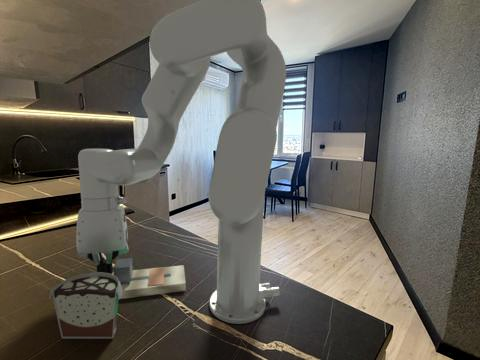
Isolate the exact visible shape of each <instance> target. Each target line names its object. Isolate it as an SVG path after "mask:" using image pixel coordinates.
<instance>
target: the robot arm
mask: <svg viewBox="0 0 480 360" xmlns="http://www.w3.org/2000/svg"><path fill="white" fill-rule="evenodd" d="M266 17H267V16H266V12H265V9H264V6H263V4H262V2H261V0H199V1H196V2H193V3H191V4H189V5H186V6H183V7H181V8H179V9H176V10H174V11H173V12H170V13H169V14H167V15H165V16H164V17H162V18H161V19H160V20H159V21H158V22H157V23H156V24H155V25H154V27H152V30H151V32H150V35H149V48H150V52H151V54H152V57H154V59H155V61H156V62H157V63H159V64H158V66H157V68H156V70H155V71H154V73H153V75H152V77H151V79H150V81H149V82H148V85H147V87H146V89H145V91H144V92H143V94H142V97H141V104H142V106H143V109H144V110H145V112H146V116H147V119H148V120H147V128H146V131H145V134H144V136H143V137H142V140H141V142H140V143H139V145H138V147H137V148H127V149H126V148H125V149H117V150H115V149H109V148H84V149H81V150H80V151H79V152H78V154H77V160H78V173H79V174H78V175H79V187H80V199H81V201H80V203H81V204H80V205H81V208H80V209H79V210H78V215H77V222H76V233H75V234H76V235H75V237H76V238H75V240H76V241H75V242H76V250H77V254H76V255H77V257H78V258H85V259H86V258H88V259H89V260H90V261H92V262H93V264H94V265H95V266H96V272H104V273H110V274H112V272H114V271H113V268H114V267H113V261H114V260H115V259H116V258H117V257H118V256H120V255H124V254H127V253H128V252H129V245H128V240H129V236H128V235H129V234H128V225H127V217H126V212H125V208H124V206H122V205H123V204H126V202H127V199H126V196H125V197H122V196H121V195H120V193H119V192H120V191H119V186H129V185H133V184H136V183H139V182H142V181H145V180H148V179H151V178H153V177H154V176H156V175H157V174H158V173H159V171H160V170H161V169H162V167H163V166H164V164H165V162H166V161H167V158H168V157H169V155H170V154H171V152H172V149H173V148H174V144H175V142H176V139H177V134H178V131H179V126H180V121H181V119H182V117H183V116H184V113H186V110H187V109H188V106H189V104H190V103H191V101H192V99H193V97H194V95H195V94H196V92H197V90H198V89H199V87H200V85H201V84H202V82H203V80H204V78H205V77H206V75H207V73H208V70H209V68H210V65H211V58H212V57H214V56H217V55H220V54H223V53H226V55H228V57H229V58H230V59H231V60H232V61H233V62H234V63H236V64H237V65H238V66H239V67H240V68H241V70H242V75H243V76H242V81H241V84H240V88H239V92H238V93H239V95H238V101H237V106H236V110H235V111H234V112H232V113H231V114H230V115H229V116H228V117H227V118H226V119H225V121H224V122H223V124H222V126H221V129H220V132H219V135H218V140H217V146H216V151H215V155H214V161H213V166H212V171H211V176H210V183H209V189H208V203H209V206H210V210H211V211H212V213H213V214H214V215H215V217H216V218H217V219H218V224H217V226H218V227H217V229H218V230H217V259H216V260H217V262H216V263H217V264H216V267H217V268H216V269H217V270H216V289H215V291H214V292H213V293H211V295H210V298H209V308H210V309H209V310H210V311H211V313H212V314H213V315H214V316H215V317H216V318H218V320H221V321H223V322H225V323H228V324H235V325H236V324H237V325H242V324H248V323H252V322H254V321H256V320H259V318H261V317H262V316H263V314H264V312H265V310H266V304H267V303H266V299H267V298H268V297H277V296H280V295H281V292H280V288H279V286H271V283H270V282H263V283H261V282H260V281H261V259H262V242H263V227H264V226H263V225H264V223H263V222H264V210H265V207H264V206H265V195H266V194H265V193H266V188H267V184H268V180H269V176H270V173H271V168H272V163H273V159H274V154H275V150H276V145H277V139H278V137H277V136H278V133H277V127H278V124H279V123H278V122H279V117H280V114H281V113H280V112H281V108H282V103H283V97H284V94H285V93H284V92H285V88H286V79H287V68H286V61H285V59H284V56H283V54H282V51H281V49H280V48H279V47H278V45H277V44H276V43H275V42H274V40H273V39H272V38H271V37H270V36H269V35H268V30H267V29H268V28H267V18H266ZM103 253H106V257H105V258H104V256H103Z"/></svg>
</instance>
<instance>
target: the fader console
mask: <svg viewBox="0 0 480 360" xmlns="http://www.w3.org/2000/svg"><path fill="white" fill-rule="evenodd" d="M185 273H186V272H185V265H173V266H172V265H171V266H162V267H154V268H153V267H151V268H143V269H133V274H132V278H131V282H130V283H121V287H122V296H121V298H120V299H119V298H118V300H122V299H129V298H138V297H146V296H155V295H162V294H170V293H176V292H179V293H180V292H186V291H187V283H186V274H185ZM112 274H113V275H114V271H113V272H112Z"/></svg>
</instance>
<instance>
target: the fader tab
mask: <svg viewBox="0 0 480 360" xmlns="http://www.w3.org/2000/svg"><path fill="white" fill-rule="evenodd" d="M115 261H116V262H115V264H114V266H113V267H112V268H113V272H114V275H115V276H116V277H117V278H118V280H119V281H120V284H121V283H130V282H131V278H132V274H133V270H134V269H133V267H134V266H133V257H131V258H118V259H116V260H115Z"/></svg>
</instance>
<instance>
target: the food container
mask: <svg viewBox="0 0 480 360" xmlns="http://www.w3.org/2000/svg"><path fill="white" fill-rule="evenodd" d="M121 296H122V287H121V284H120V281H119V280H118V278H117V277H116V276H115V275H113V274H110V273H104V272H97V271H95V272H89V273H83V274H78V275H76V276H71V277H69V278H67V279H64V280H62V281H61V282H59V283H57V284H55V285H54V286H53V287H51V291H50V292H49V297H48V299H49V300H51V299H52V298H53V304H54V305H53V306H54V309H55V313H56V318H57V322H58V327H59V333H60V338H61V339H114V338H115V336H116V335H117V333H116V332H117V321H118V309H119V308H118V306H119V300H121V299H120V298H121ZM118 298H119V299H118Z"/></svg>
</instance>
